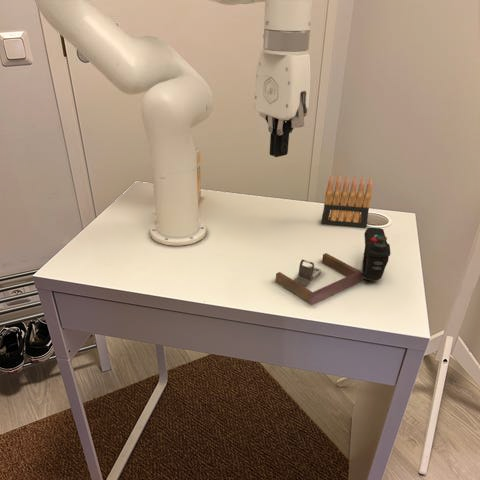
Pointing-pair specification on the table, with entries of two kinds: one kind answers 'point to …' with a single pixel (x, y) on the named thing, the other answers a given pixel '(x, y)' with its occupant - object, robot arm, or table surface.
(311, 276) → the strap clip
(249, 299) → the table surface
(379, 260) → the controller
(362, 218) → the ammunition clip
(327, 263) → the frame
